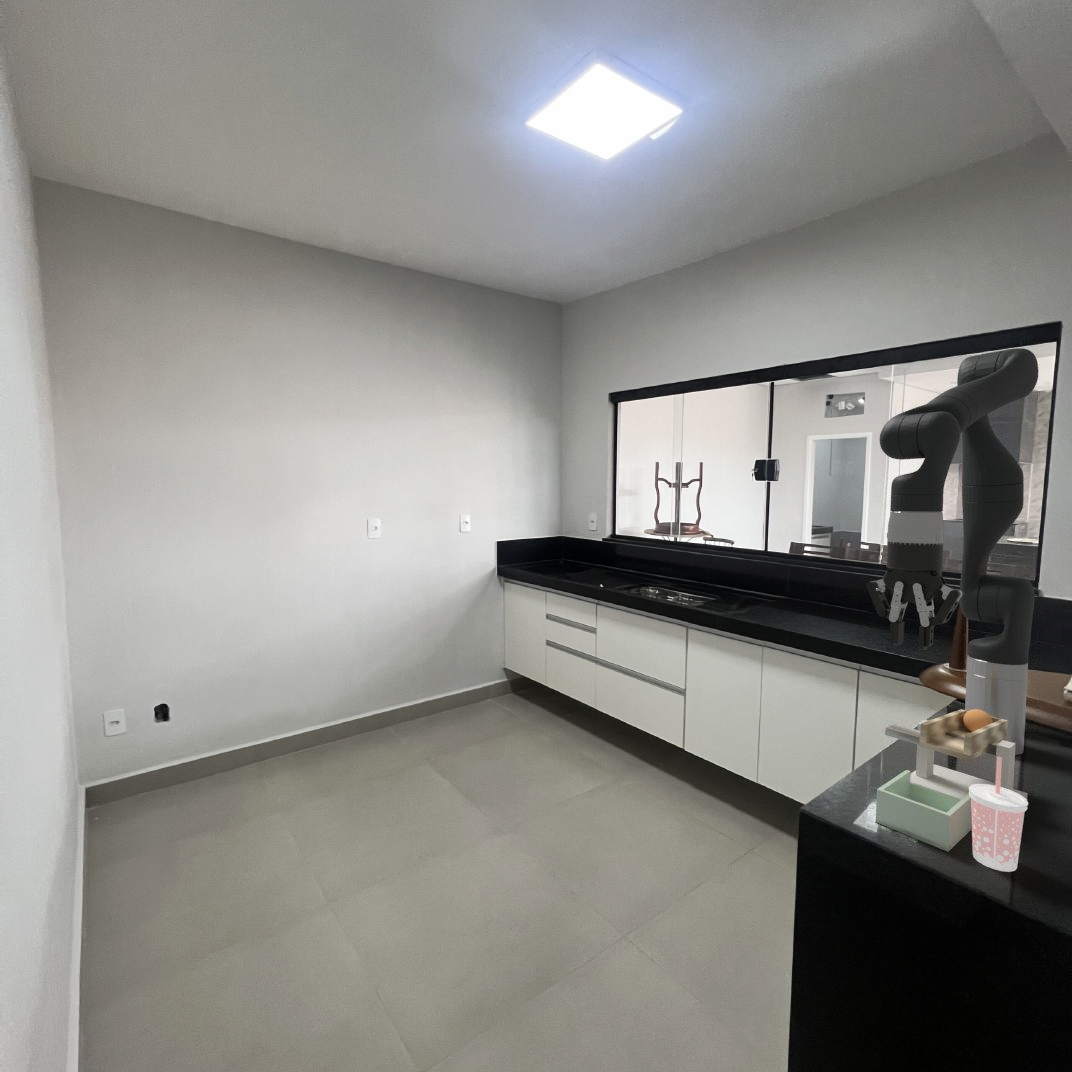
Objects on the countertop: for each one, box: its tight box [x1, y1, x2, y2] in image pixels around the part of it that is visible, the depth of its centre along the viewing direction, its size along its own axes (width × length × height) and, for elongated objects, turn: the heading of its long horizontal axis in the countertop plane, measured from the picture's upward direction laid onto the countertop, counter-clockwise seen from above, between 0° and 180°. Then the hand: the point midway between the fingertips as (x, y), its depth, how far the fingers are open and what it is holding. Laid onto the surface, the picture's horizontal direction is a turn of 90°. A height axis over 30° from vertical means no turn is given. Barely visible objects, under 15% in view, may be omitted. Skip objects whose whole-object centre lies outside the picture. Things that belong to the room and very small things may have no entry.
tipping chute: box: [884, 708, 1008, 762], centre depth 96 cm, size 18×12×5 cm
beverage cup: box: [969, 757, 1029, 873], centre depth 77 cm, size 6×6×14 cm
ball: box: [963, 709, 993, 732], centre depth 98 cm, size 4×4×4 cm
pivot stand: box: [910, 719, 1028, 800], centre depth 95 cm, size 12×14×10 cm
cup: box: [875, 769, 972, 853], centre depth 86 cm, size 11×9×5 cm
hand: (910, 646), depth 94 cm, fingers open, 3 cm apart
